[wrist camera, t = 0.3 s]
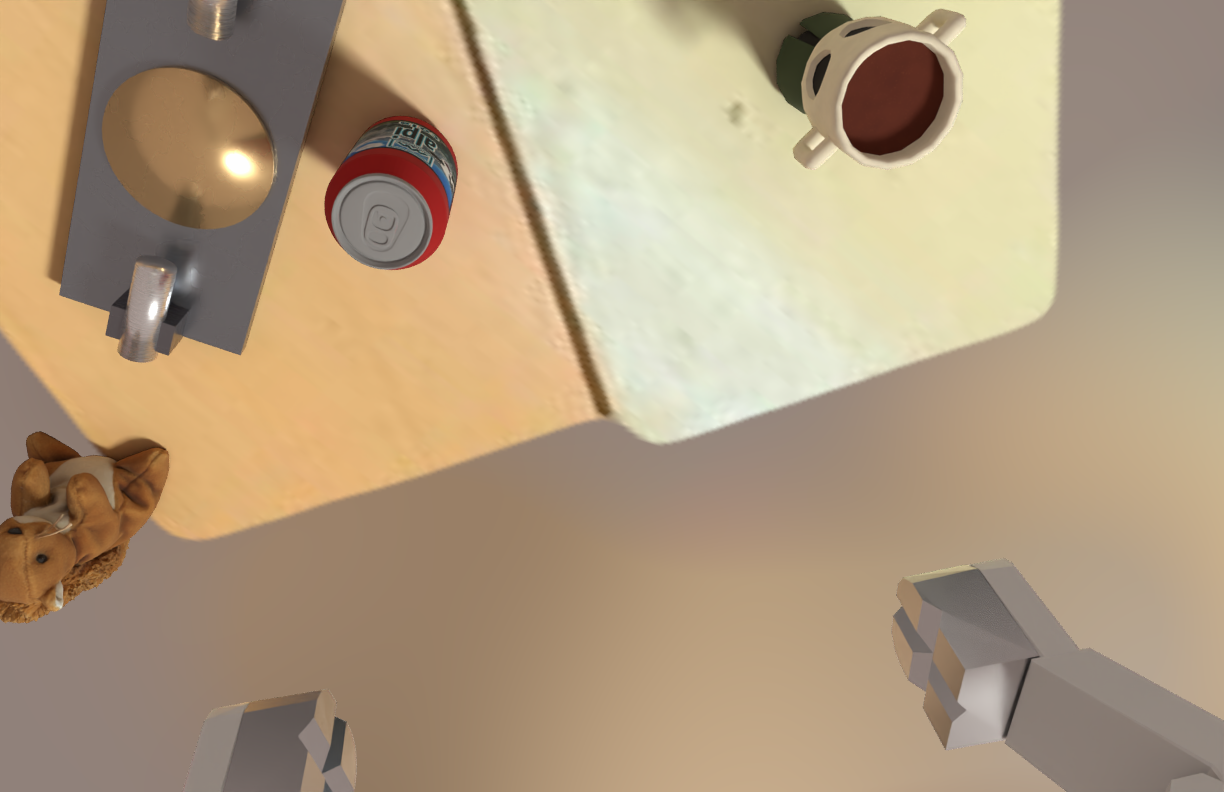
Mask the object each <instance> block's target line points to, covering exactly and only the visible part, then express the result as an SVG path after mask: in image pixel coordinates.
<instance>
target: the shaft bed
mask: <svg viewBox="0 0 1224 792" xmlns="http://www.w3.org/2000/svg"><path fill="white" fill-rule="evenodd" d="M345 3H346V0H107V3H106V9H105V16H104V22H103V28H102V34H101V40H100V46H99V53H98V59H97V65H96V71H95V77H94V84H93V90H92V96H91V102H90V108H89V115H88V121H87V127H86V133H85V139H84V146H83V152H82V158H81V164H80V170H79V176H78V183H77V189H76V195H75V201H74V207H73V214H72V220H71V226H70V232H69V238H68V245H67V251H66V257H65V263H64V269H63V275H62V282H61V288H60V294H59V295H60V296H63V297H66V298H69V299H72V300H75V301H78V302H81V303H84V304H87V305H91V306H94V307H97V308H100V309H103V310H106V311H109V312H110V315H109V320H108V325H107V330H106V335H107V336H110V337H113V338H116V339H119V344H118V349H117V350H118V353H119V354H120V355H121V356H122V357H124V358H125V359H128V360H130V361H134V362H150V361H153V360H155V359H156V358H157V355H158V352H159V353H162V354H165V355H169V354H170V353H171V352H172V350H173V349H174V348H175V347H176V345H177V344H178V343H179V342H180V340H181V339H182V337H183V336H184V337H187V338H190V339H193V340H196V341H199V342H202V343H205V344H208V345H211V346H214V347H217V348H220V349H223V350H226V351H229V352H232V353H235V354H238V355H241V354H242V352H243V350H244V349H245V347H246V343H247V340H248V337H249V333H250V330H251V326H252V323H253V319H254V316H255V312H256V309H257V306H258V302H259V299H260V295H261V292H262V288H263V285H264V281H265V278H266V275H267V271H268V268H269V264H270V261H271V257H272V254H273V250H274V247H275V244H276V240H277V237H278V233H279V230H280V226H281V223H282V219H283V216H284V213H285V209H286V206H287V202H288V199H289V195H290V192H291V188H292V185H293V182H294V178H295V175H296V171H297V168H298V164H299V161H300V157H301V154H302V151H303V147H304V144H305V140H306V137H307V133H308V130H309V126H310V123H311V120H312V116H313V113H314V109H315V106H316V102H317V99H318V95H319V92H320V89H321V85H322V82H323V78H324V75H325V71H326V68H327V64H328V61H329V58H330V54H331V51H332V47H333V44H334V40H335V37H336V34H337V30H338V27H339V23H340V20H341V16H342V13H343V9H344V6H345Z"/></svg>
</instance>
